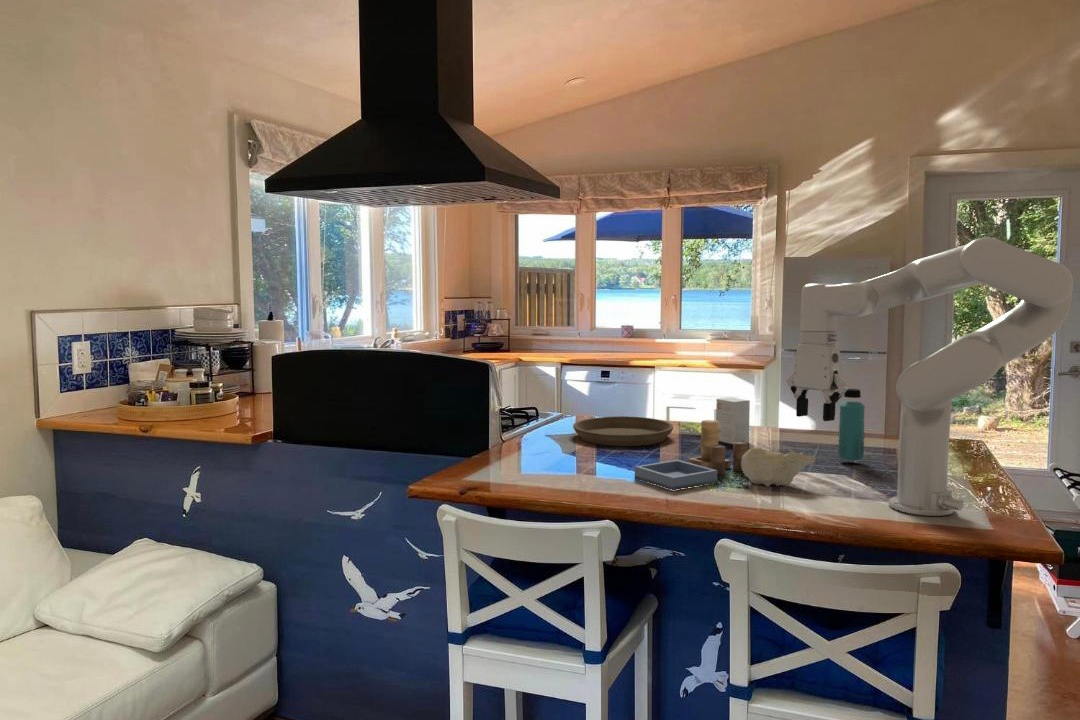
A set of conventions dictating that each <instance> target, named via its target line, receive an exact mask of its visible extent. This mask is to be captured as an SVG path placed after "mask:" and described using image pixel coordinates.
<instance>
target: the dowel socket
mask: <svg viewBox="0 0 1080 720" xmlns="http://www.w3.org/2000/svg"><path fill="white" fill-rule="evenodd" d="M688 463H692V464H695V465H699V466H703V467H707V468H710V463H709V462H705V461H701V456H696V457H689V458H688ZM725 468H727V469H731V460H730V459H726V458H725Z"/></svg>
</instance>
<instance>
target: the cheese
mask: <svg viewBox="0 0 1080 720" xmlns="http://www.w3.org/2000/svg"><path fill="white" fill-rule="evenodd" d="M787 451H790V452H788V453H782V452H774V451H769V450H766V449H763V448H758V447H752V448H750V449H749V448H748V451H747V452H746V453H745V454H744V455H743V457H742V461H741V467H742V471H743V472H742V473H743V474H744V476H745V477H747V478H748V479H749V480H750V482H751V483H753V484H757V485H765V487H768V486H769V487H770V486H771V485H775V486H776V487H780V486H779V485H783V486H790V485H791V483H792V482H793V480H794V478H795V477H796V476H797V475H799V473H800V472H801V471H802V470H803V469H805V468H806V466H808V465H811V464H813V463H814V462H816V458H815V457H814V456H812V455H806V454H804V453H803V452H799V453H798V452H795V451H793V450H792V449H789V448H788V449H787Z"/></svg>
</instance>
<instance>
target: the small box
mask: <svg viewBox="0 0 1080 720" xmlns="http://www.w3.org/2000/svg"><path fill="white" fill-rule="evenodd" d="M750 402H751V401H750V400H749V399H742V398H737V397H723V398H722V397H721V398H716V404H715V405H716V407H715V408H716V410H715V412H716V413H715V415H716V416H715V418H716V419H715V421H718V422H719V435H718V442H722V443H726V444H731V445H733V443H734V442H745V443H748V444H749V443H750V406H751V404H750Z"/></svg>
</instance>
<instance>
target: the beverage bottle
mask: <svg viewBox="0 0 1080 720" xmlns="http://www.w3.org/2000/svg"><path fill="white" fill-rule="evenodd" d="M843 397H844V398H849V399H850V398H852V399H859V398H860V399H861V397H862V396H861V390H860V389H858V388H848V390H847V391H846V392H845V393H844V394H843ZM865 435H866V434H865V405H864V403H862V402H861V401H859V400H858V401H857V400H856V401H855V400H844V401H842V402H841V403H840V405H839V424H838V443H837V444H838V445H837V446H838V447H837V448H838V451H837V453H838V454H837V455H838V458H839V459H844V460H848V461H849V460H850V461H860V460H861V461H862V460H863V459H864V454H865Z"/></svg>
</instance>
